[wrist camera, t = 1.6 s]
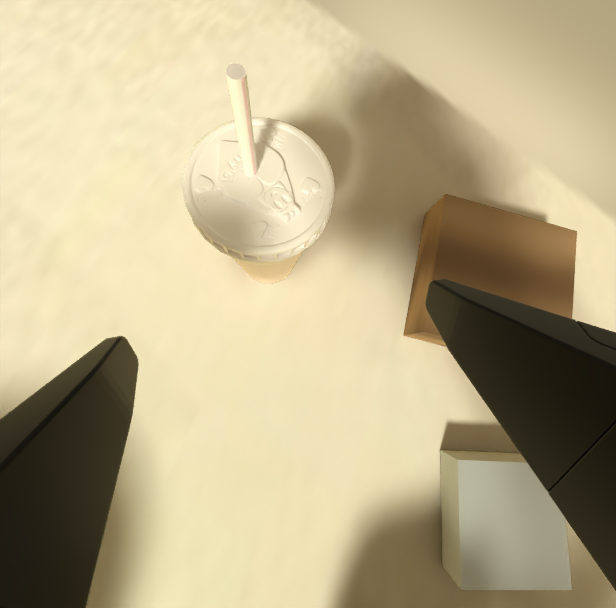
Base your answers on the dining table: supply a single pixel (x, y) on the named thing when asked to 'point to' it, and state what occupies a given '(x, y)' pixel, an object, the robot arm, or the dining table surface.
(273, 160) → the smoothie
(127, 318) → the dining table surface
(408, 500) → the dining table surface
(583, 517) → the robot arm
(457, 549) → the grey tile
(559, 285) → the walnut block
